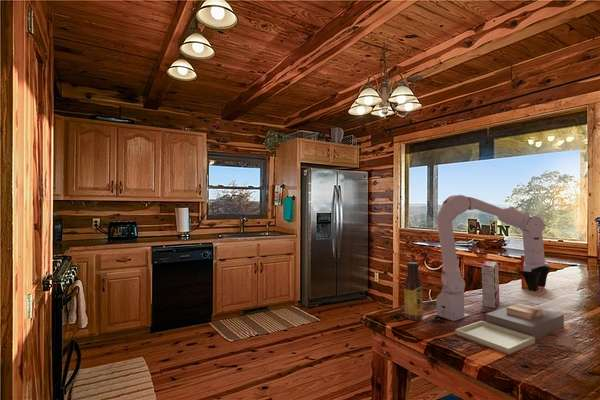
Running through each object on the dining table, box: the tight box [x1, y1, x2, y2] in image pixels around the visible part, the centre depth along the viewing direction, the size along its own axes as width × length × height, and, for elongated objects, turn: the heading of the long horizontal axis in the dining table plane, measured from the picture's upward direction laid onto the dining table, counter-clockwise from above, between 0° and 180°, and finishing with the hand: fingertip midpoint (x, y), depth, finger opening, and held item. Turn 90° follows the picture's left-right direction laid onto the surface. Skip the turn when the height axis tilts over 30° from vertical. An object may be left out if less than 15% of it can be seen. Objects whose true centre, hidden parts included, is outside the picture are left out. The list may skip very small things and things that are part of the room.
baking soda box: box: [520, 253, 545, 292], centre depth 153 cm, size 10×6×16 cm
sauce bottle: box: [403, 261, 424, 321], centre depth 117 cm, size 6×6×20 cm
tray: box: [454, 320, 536, 355], centre depth 98 cm, size 14×16×2 cm
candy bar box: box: [480, 260, 500, 309], centre depth 131 cm, size 11×5×16 cm, turn 143°
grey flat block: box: [485, 303, 565, 341], centre depth 107 cm, size 20×14×4 cm
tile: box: [506, 303, 543, 320], centre depth 107 cm, size 8×7×2 cm
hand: (537, 288), depth 113 cm, fingers open, 7 cm apart
